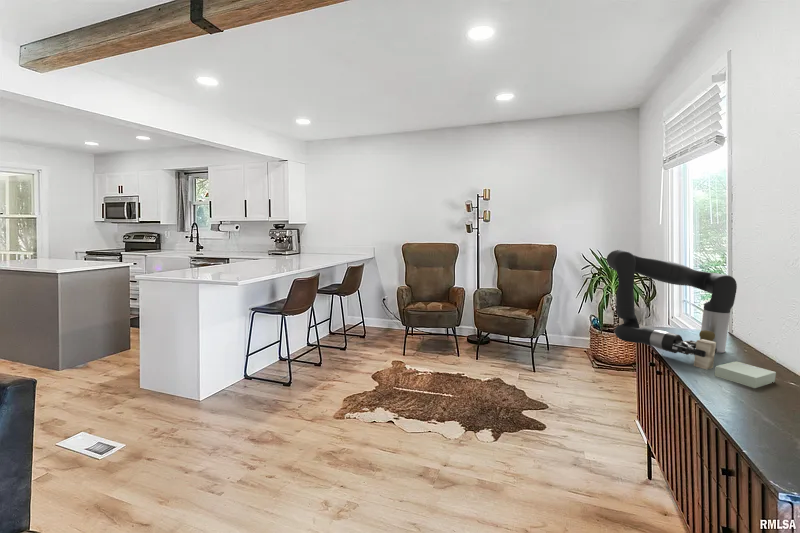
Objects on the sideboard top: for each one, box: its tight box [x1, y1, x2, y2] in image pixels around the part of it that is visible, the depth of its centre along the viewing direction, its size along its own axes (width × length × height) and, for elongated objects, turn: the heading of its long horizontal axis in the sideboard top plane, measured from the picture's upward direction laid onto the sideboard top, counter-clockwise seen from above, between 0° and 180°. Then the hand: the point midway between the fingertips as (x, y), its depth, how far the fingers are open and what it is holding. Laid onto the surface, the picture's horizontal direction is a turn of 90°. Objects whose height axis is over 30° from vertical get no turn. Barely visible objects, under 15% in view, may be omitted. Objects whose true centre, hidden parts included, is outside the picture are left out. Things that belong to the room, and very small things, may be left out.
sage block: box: [714, 360, 777, 389], centre depth 148 cm, size 14×12×4 cm
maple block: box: [693, 339, 716, 371], centre depth 159 cm, size 4×4×10 cm
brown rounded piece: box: [699, 330, 715, 341], centre depth 171 cm, size 6×6×11 cm
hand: (710, 352), depth 157 cm, fingers open, 8 cm apart
